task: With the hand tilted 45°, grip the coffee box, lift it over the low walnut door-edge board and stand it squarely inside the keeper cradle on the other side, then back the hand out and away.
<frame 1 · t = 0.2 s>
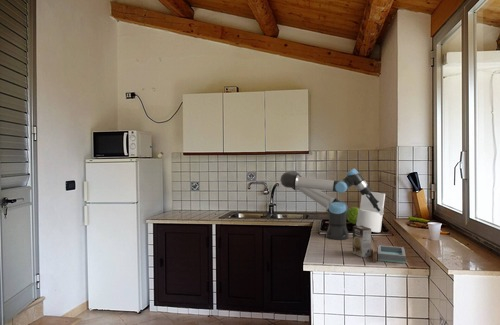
hand: (382, 212, 245), 16 cm above the countertop, fingers open, 13 cm apart
lettuce: (362, 224, 283), on the countertop
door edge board: (375, 255, 201), on the countertop
keeper cradle: (391, 257, 198), on the countertop
coffee box: (361, 254, 203), on the countertop
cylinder: (368, 230, 257), point 1 cm above the countertop, touching gripper, hand
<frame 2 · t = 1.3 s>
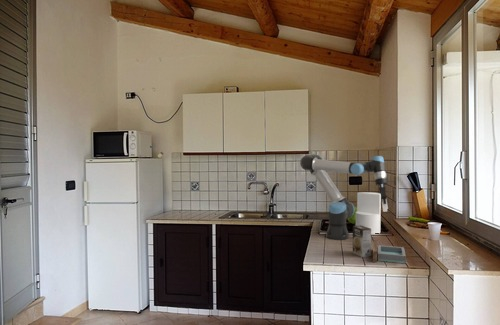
hand: (385, 210, 230), 21 cm above the countertop, fingers open, 13 cm apart
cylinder: (367, 231, 257), on the countertop
everything else where it was.
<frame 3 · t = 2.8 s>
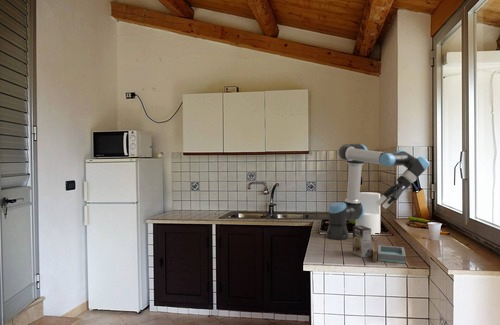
hand: (380, 205, 205), 28 cm above the countertop, fingers open, 13 cm apart
nothing on the countertop moved.
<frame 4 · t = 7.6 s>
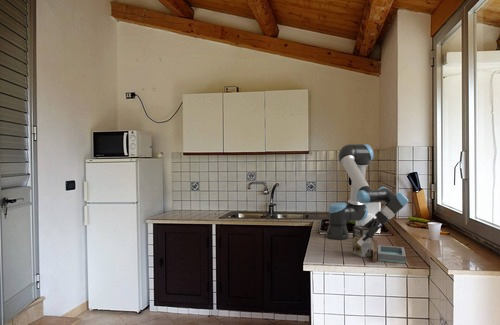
hand: (356, 241, 203), 8 cm above the countertop, fingers closed on coffee box, 10 cm apart
coffee box: (361, 254, 203), on the countertop, touching gripper
everything else where it was.
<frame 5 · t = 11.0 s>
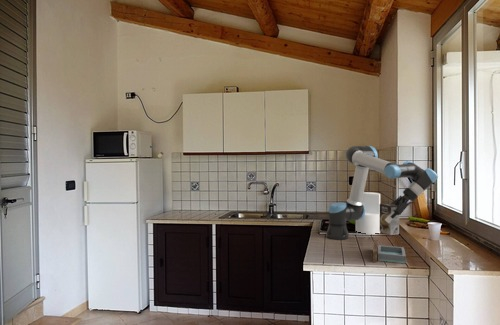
hand: (383, 219, 197), 21 cm above the countertop, fingers closed on coffee box, 10 cm apart
coffee box: (389, 233, 197), point 14 cm above the countertop, touching gripper
everything else where it was.
when the fingers open (10 cm above the countertop, at t = 14.4 s): coffee box drops 1 cm, resting on keeper cradle.
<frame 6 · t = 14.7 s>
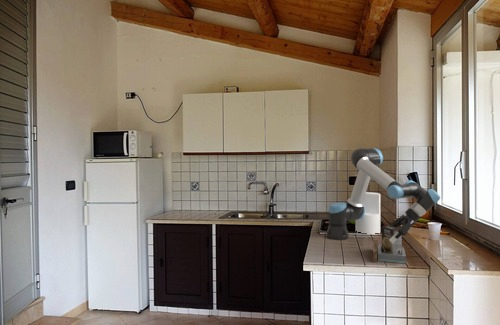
hand: (387, 238, 197), 11 cm above the countertop, fingers open, 13 cm apart
coffee box: (391, 256, 197), point 1 cm above the countertop, touching keeper cradle
everything else where it was.
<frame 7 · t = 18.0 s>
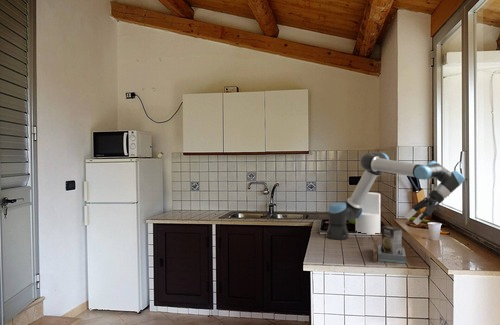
hand: (410, 220, 196), 21 cm above the countertop, fingers open, 13 cm apart
nothing on the countertop moved.
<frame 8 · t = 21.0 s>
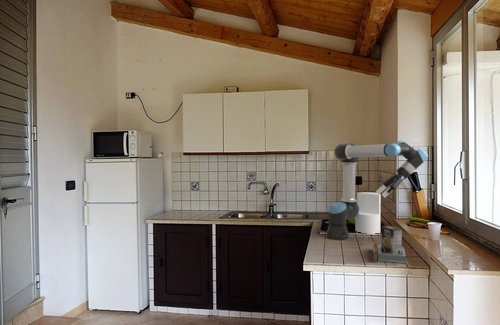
hand: (380, 194, 217), 33 cm above the countertop, fingers open, 13 cm apart
nothing on the countertop moved.
at the end: coffee box inside the target area on the keeper cradle (0.2 cm from its centre), point 0.8 cm above the keeper cradle's base; coffee box tilted 0°; the gripper is holding nothing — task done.
